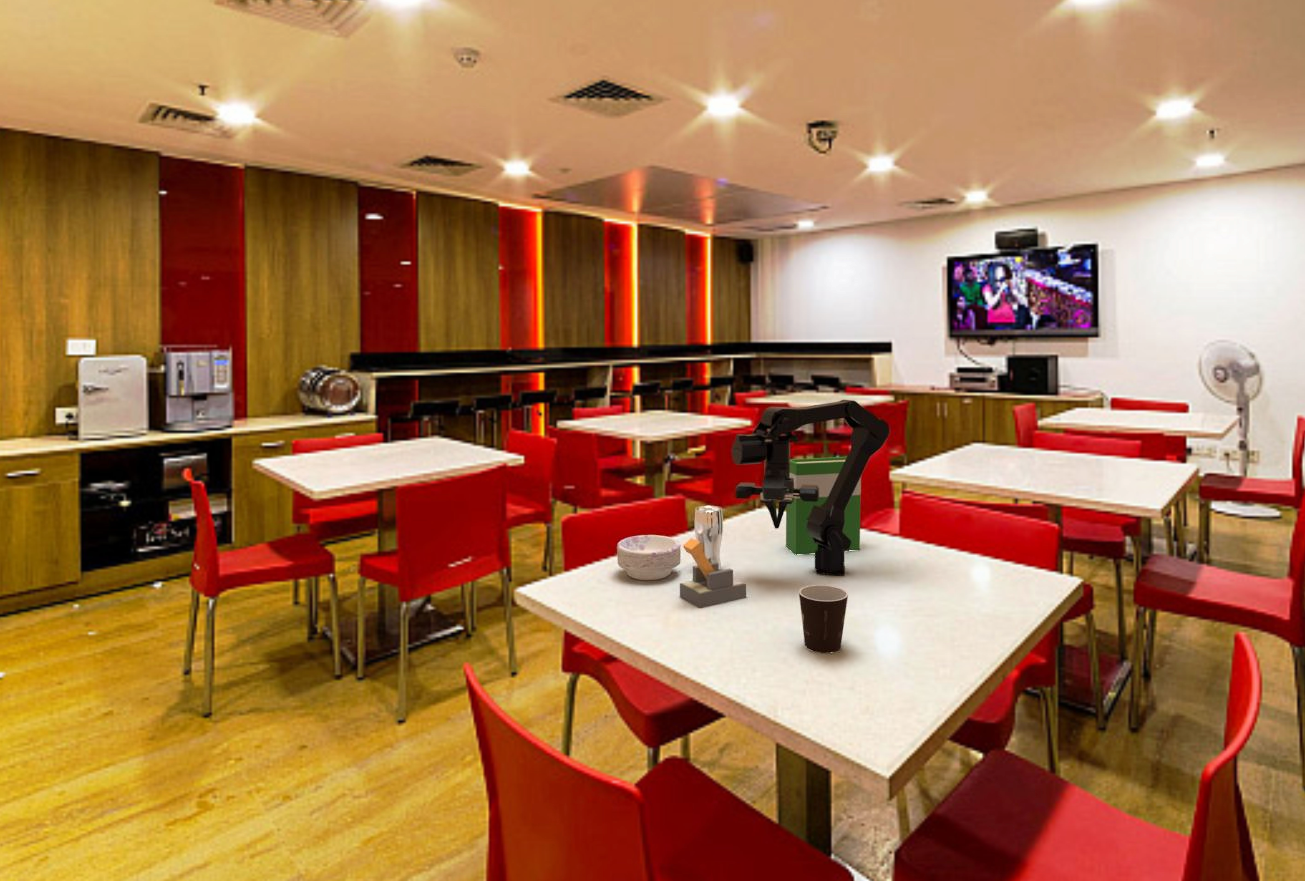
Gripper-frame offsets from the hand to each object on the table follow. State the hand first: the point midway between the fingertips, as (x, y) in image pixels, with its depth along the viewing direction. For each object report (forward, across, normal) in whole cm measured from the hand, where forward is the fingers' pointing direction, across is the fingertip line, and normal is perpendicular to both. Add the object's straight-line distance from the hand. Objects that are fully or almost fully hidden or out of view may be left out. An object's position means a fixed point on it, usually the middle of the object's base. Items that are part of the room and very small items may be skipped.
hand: (776, 528), depth 169 cm
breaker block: (+12, -12, -16) cm, 23 cm away
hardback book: (+12, +9, +27) cm, 31 cm away
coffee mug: (+12, +12, -38) cm, 42 cm away
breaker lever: (+8, -12, -16) cm, 22 cm away
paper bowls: (+12, -30, -4) cm, 33 cm away
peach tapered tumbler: (+12, -17, +4) cm, 21 cm away
